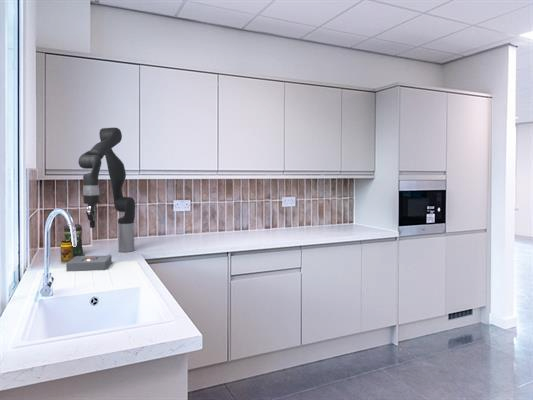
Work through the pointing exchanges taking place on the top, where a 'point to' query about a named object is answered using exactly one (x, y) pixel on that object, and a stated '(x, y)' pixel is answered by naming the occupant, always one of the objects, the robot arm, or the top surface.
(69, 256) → the condiment
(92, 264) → the box
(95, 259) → the button
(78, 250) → the green bottle
